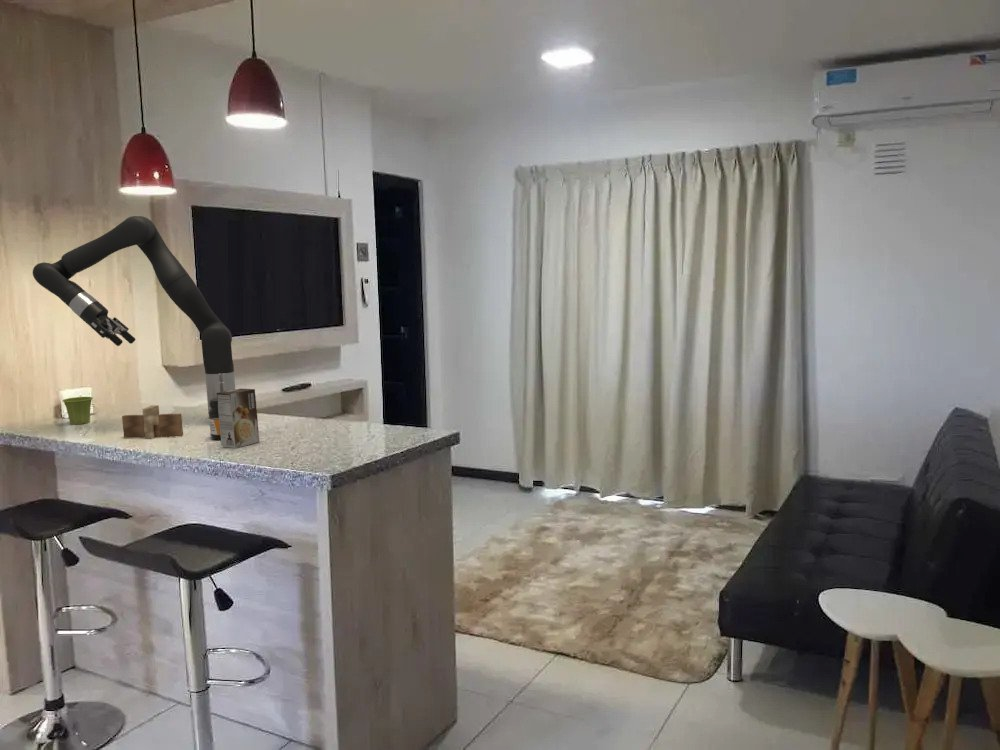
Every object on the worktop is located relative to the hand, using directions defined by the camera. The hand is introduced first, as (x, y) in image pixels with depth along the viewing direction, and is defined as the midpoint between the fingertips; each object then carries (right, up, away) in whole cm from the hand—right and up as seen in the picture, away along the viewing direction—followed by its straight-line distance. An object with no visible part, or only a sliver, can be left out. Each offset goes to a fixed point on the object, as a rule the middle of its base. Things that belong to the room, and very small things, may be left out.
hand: (127, 342), depth 264 cm
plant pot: (-27, -28, +22) cm, 44 cm away
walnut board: (+12, -30, -8) cm, 33 cm away
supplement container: (+37, -30, -13) cm, 49 cm away
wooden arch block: (+12, -30, -8) cm, 33 cm away
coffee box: (+44, -31, -25) cm, 60 cm away
